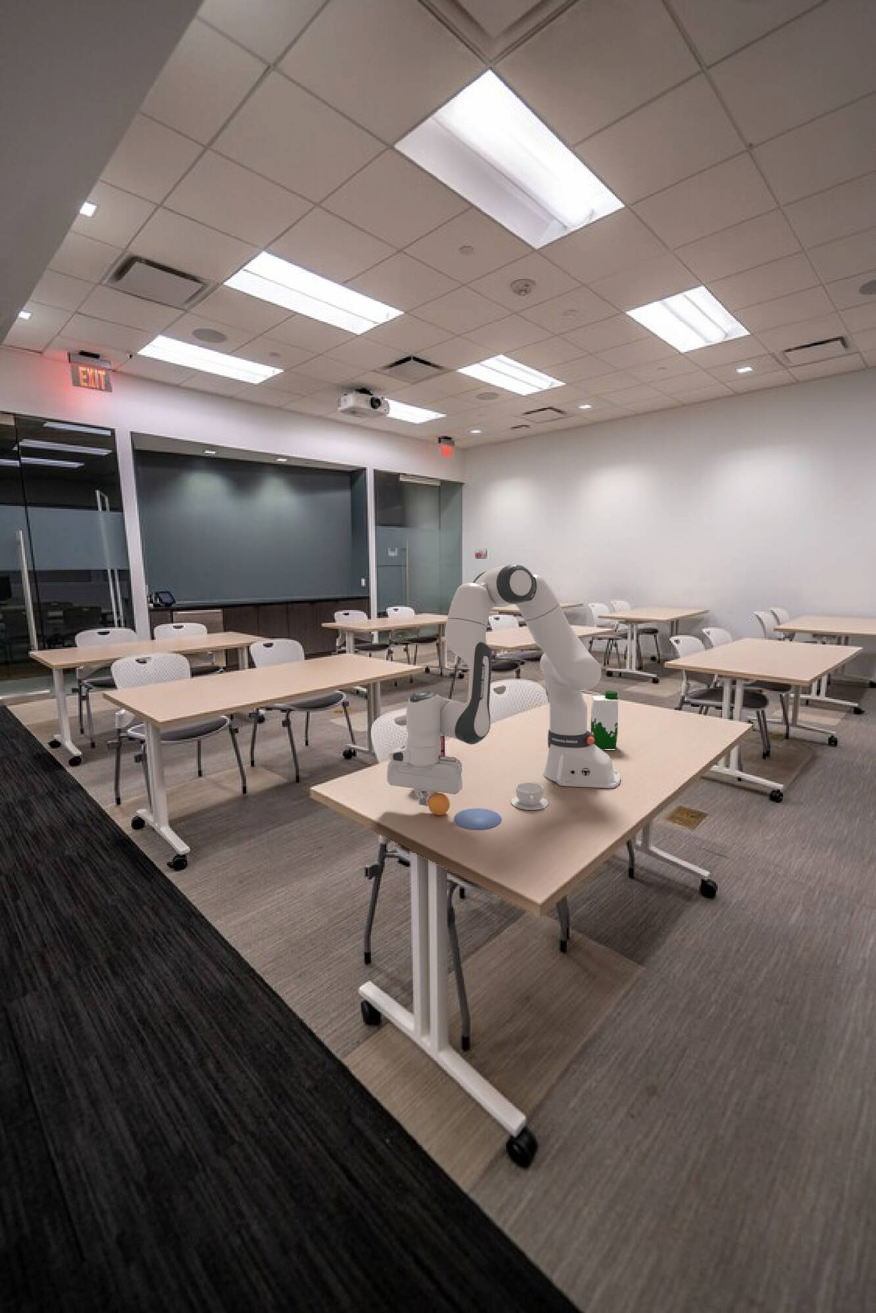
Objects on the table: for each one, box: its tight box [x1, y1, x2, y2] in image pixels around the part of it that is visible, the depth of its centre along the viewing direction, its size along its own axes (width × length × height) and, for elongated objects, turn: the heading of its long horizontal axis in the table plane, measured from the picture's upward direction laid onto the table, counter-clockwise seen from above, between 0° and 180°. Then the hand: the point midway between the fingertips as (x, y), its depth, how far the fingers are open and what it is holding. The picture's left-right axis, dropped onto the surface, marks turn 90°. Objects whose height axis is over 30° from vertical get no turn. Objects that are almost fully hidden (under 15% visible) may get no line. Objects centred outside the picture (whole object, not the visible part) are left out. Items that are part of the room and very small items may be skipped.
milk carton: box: [590, 690, 619, 749], centre depth 192 cm, size 9×9×20 cm
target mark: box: [453, 808, 502, 831], centre depth 138 cm, size 12×12×1 cm
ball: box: [427, 792, 451, 816], centre depth 141 cm, size 6×6×6 cm
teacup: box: [510, 781, 549, 811], centre depth 147 cm, size 10×10×5 cm
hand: (424, 804), depth 143 cm, fingers closed
